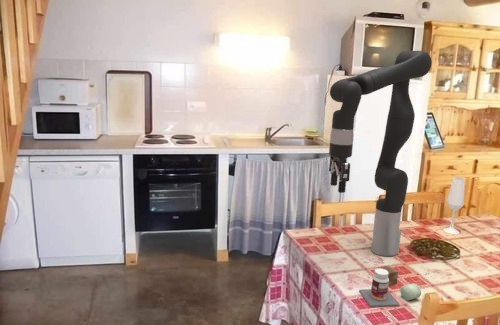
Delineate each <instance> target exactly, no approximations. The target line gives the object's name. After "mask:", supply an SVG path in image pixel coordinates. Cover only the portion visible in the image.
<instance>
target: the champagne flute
mask: <svg viewBox="0 0 500 325" xmlns="http://www.w3.org/2000/svg"><path fill="white" fill-rule="evenodd" d="M465 187H466V179H465V178H464V177H459V176H458V177H457V176H456V177H455V176H454V177H452V180H451V184H450V187H449V191H448V196H447V201H446V204H447V206H448V207H449V208H450V209H451V210H452V212H451V219H450V220H451V221H450V226H448V227H446V228H443V229H442V232H445V233H447V234H452V235H458V234H460V231H458V229H456V228H455V227H454V223H455V217H456V213H457V212H456V211H458V210H460V209H462V207H464V205H465V204H464V203H465V191H466V190H465Z"/></svg>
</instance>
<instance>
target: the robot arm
mask: <svg viewBox="0 0 500 325" xmlns="http://www.w3.org/2000/svg"><path fill="white" fill-rule="evenodd" d="M432 62H433V61H432V57H431V55H430V54H429V53H428V52H426V51H423V50H404V51H401V52H400V53H398V54H397V56H396V58H395V61H394V64H392V65H386V66H382V67H378V68H377V67H376V68H374V69H370V70H368V71H366V72H363V73H361V74H358V75H355V76H350V77H345V78H342V79H339V80H337V81H335V82H334V83H333V84H332V85H331V87H330V89H329V95H330V98H331V99H332V101H335V102H337V103H341V107H340V109H338V110H335V111H334V112H333V113H332V120H331V130H330V138H329V149H328V150H329V151H328V155H329V165H328V172H329V174H330V186H334V187H335V186H337V185H338V186H337V187H338V188H337V192H338V193H339V194H340V193H341V194H343V193H345V192H346V186H347V182H350V174H351V173H350V172H351V163H350V162H347V159H348V158H351V157H352V156H353V147H354V146H353V145H354V126H355V125H354V124H355V116H356V113H357V111H358V108H359V105H360V103H361V100H362V96H367V95H369V94H372V93H374V92H376V91H380V90H381V89H384V88H387V87H389V86H392V88H391V89H392V90H391V96H390V103H389V108H388V113H387V118H386V119H387V120H386V124H385V130H384V137H383V140H382V141H383V142H382V147H381V151H380V155H379V158H378V161H377V166H376V168H375V173H374V183H375V186H376V187H377V188H379V189H381V190H383V191H385V196H384V198H379V199H377V200H376V203H375V210H374V212H375V214H374V221H373V222H374V223H373V229H372V230H373V231H372V240H371V247H370V249H371V252H372V253H374V254H375V255H378V256H382V257H394V256H396V255H399V252H400V251H399V250H400V246H401V245H400V244H401V242H400V241H401V235H402V231H401V229H400V225H401V217H402V216H401V215H402V209H403V207H404V204H405V202H406V197H407V196H406V195H407V190H408V186H409V185H408V184H409V178H408V174H407V172H406V171H404V170H402V169H400V168H397V167H396V162H397V158H398V154H399V152H400V150H401V149H402V148H403V146H404V145H405V144H406V143H407V141H408V140H409V139H410V138H411V135H412V133H413V128H414V123H415V118H416V117H415V109H414V106H413V103H412V101H411V98H410V97H411V96H410V92H409V89H410V81H411V80H412V79H418V78H423V77H424V76H426V75H427V74H428V73H429V72H430V71H431V69H432Z"/></svg>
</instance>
